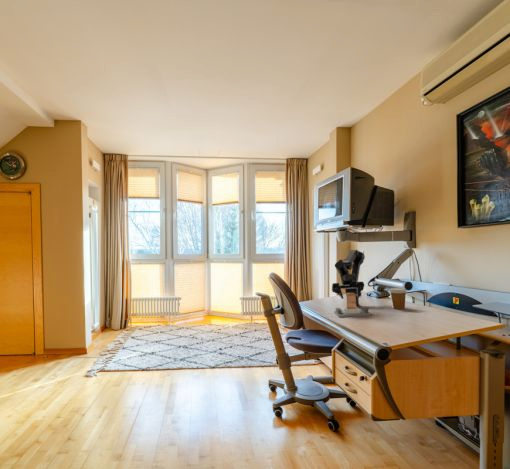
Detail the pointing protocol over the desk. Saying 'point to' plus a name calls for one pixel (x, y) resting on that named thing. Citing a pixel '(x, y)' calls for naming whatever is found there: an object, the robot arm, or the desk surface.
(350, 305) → the peg
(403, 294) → the disposable coffee cup
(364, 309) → the socket plate
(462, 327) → the desk surface
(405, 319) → the desk surface
